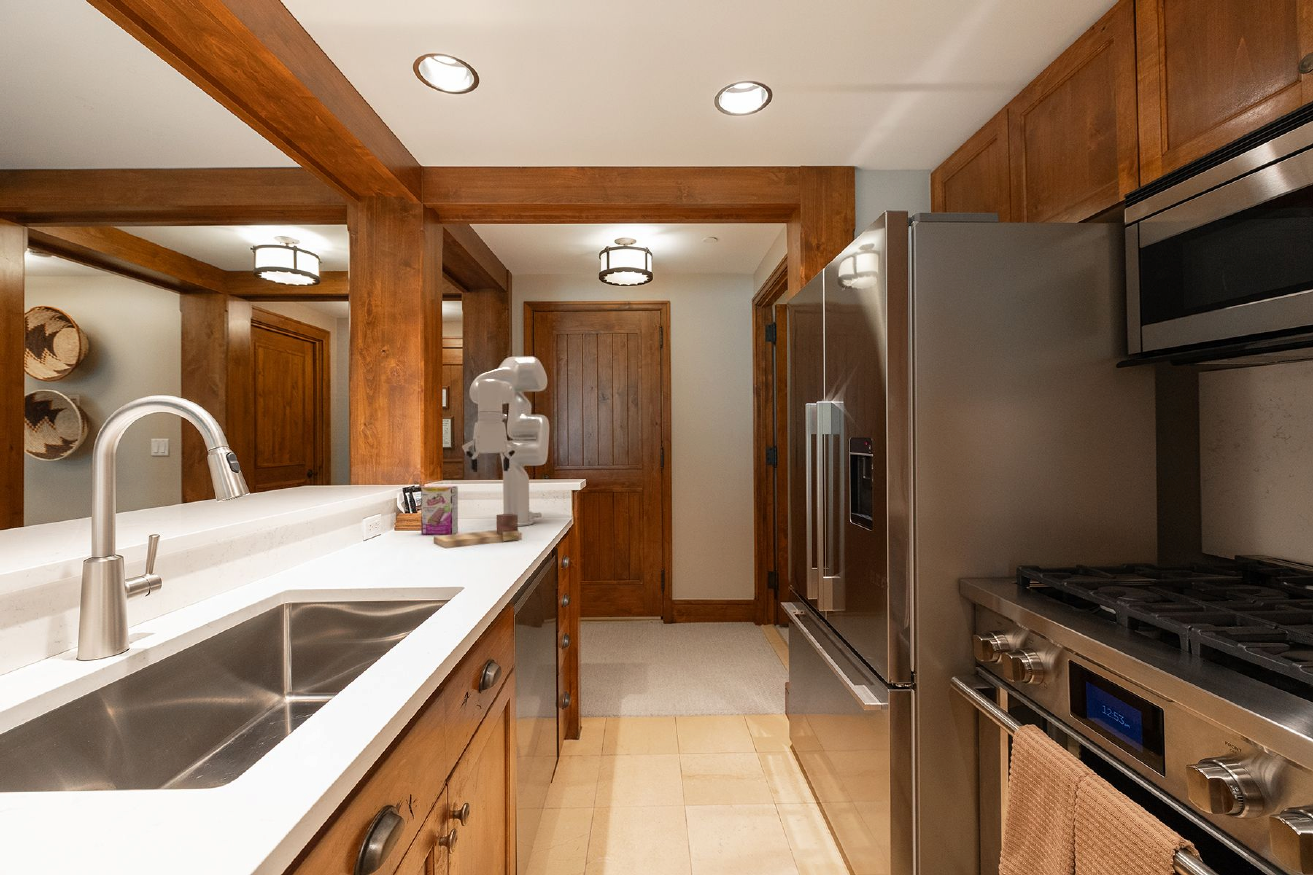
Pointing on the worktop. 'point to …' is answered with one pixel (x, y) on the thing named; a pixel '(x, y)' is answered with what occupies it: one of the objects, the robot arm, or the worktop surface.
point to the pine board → (470, 539)
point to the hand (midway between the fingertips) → (490, 471)
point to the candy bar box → (439, 510)
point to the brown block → (508, 526)
